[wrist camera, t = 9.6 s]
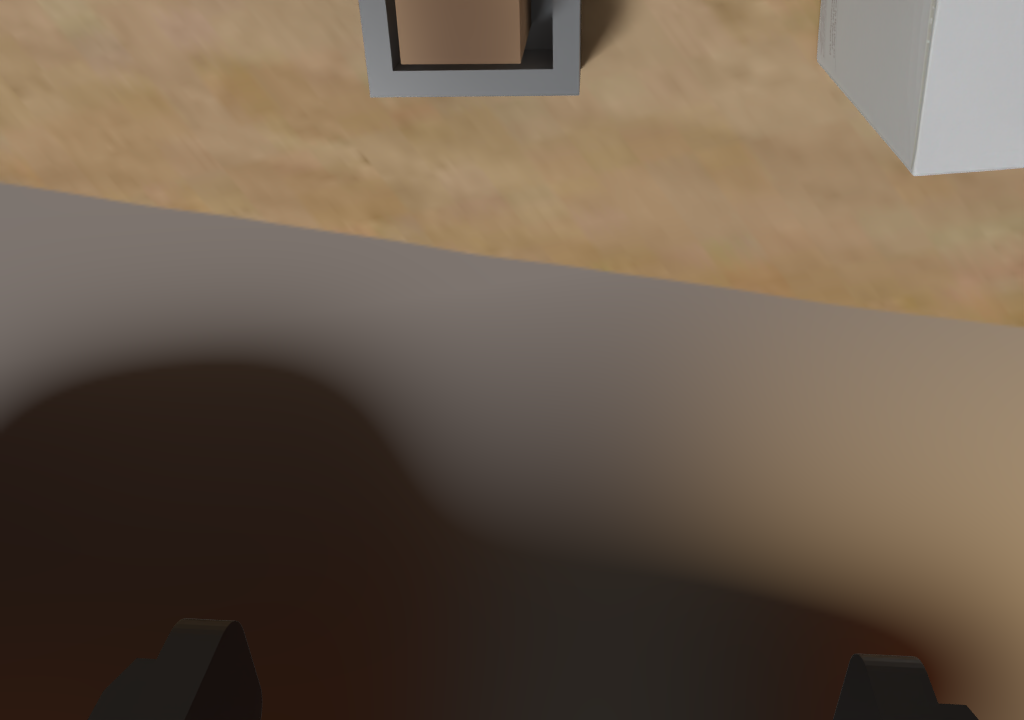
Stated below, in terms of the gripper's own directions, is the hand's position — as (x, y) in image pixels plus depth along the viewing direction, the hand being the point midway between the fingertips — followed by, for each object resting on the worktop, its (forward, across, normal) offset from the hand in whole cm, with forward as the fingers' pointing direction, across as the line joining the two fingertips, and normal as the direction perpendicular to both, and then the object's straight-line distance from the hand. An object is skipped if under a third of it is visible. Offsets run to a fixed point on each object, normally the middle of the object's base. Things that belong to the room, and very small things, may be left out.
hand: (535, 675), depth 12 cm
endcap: (+30, +4, -2) cm, 30 cm away
